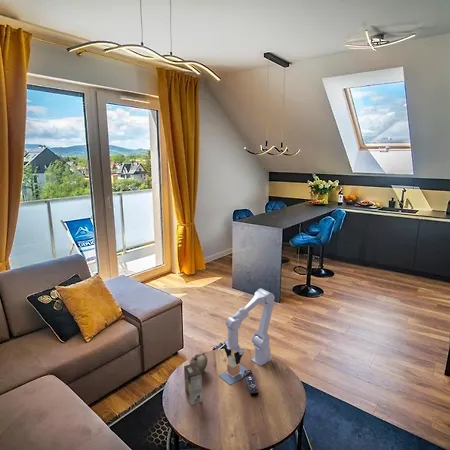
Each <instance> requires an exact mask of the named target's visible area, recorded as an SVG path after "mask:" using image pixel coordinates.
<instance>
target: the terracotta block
mask: <svg viewBox="0 0 450 450" xmlns="http://www.w3.org/2000/svg"><path fill="white" fill-rule="evenodd" d="M239 364H240V363H239ZM239 364H238V365H237V366H235V367H231V366H230V365H229V364H228V363H227V364H226V368H227V369H226V371H227V372H228V373H229V374H230V375H232V376H235V375H236V374H238V373H240V365H239Z"/></svg>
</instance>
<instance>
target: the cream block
mask: <svg viewBox="0 0 450 450" xmlns="http://www.w3.org/2000/svg"><path fill="white" fill-rule="evenodd" d="M227 362H228V363H227V364H229V365H230V366H231V367H235V366H237V365H238V364H236V360H235V356H234V353H231V355H230V356H228V358H227Z"/></svg>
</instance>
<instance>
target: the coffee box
mask: <svg viewBox="0 0 450 450" xmlns="http://www.w3.org/2000/svg"><path fill="white" fill-rule="evenodd" d="M183 373H184V391H185V392H184V394H185V395H186V398H187V400H188V402H189V404H190V405H192V406H193V405H195V404H197V403H198V404H199V403H200V402H203V386H202V385H203V383H202V382H203V380H202V379H203V377H202V376H203V375H201V371H200V370H199V368H198V367H197V365H196V363H194V364H190V363H189V364H187V365H184V366H183Z"/></svg>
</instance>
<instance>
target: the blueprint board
mask: <svg viewBox="0 0 450 450" xmlns="http://www.w3.org/2000/svg"><path fill="white" fill-rule="evenodd" d="M239 365H240V373H238V374H236V375H235V376H232V375H230V374H229V373H228V372H227V370H226V371H224V372H223V373H221V374H219V375H218V377H219V378H221V380H223V381H224V382H225V383H227V384H228V385H229V386H231V385H234V384H235V383H236V382H238V381H241V380H242V379H244V378H243V374H244V371H245V370H249V369H247V368H246V367H245V366H243V365H242V364H240V363H239Z"/></svg>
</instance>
